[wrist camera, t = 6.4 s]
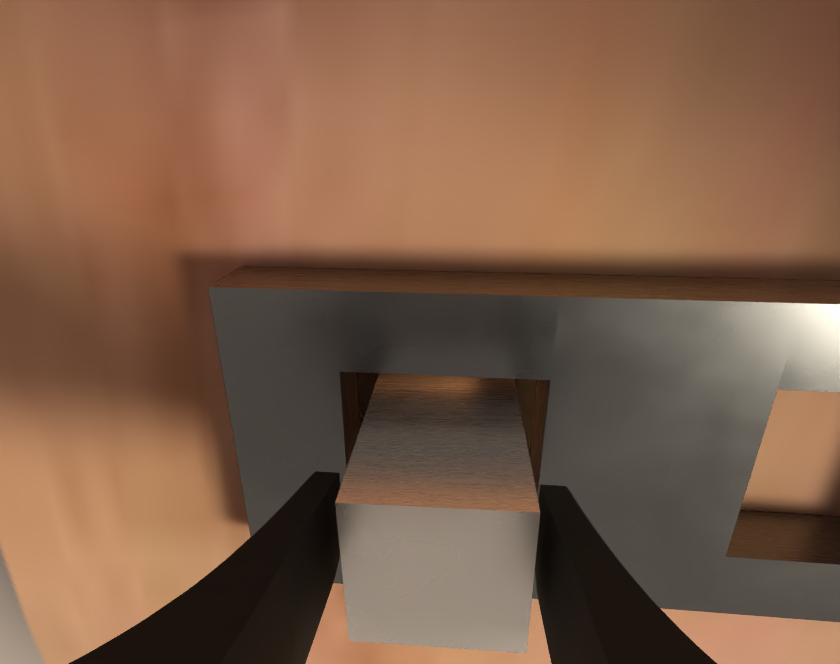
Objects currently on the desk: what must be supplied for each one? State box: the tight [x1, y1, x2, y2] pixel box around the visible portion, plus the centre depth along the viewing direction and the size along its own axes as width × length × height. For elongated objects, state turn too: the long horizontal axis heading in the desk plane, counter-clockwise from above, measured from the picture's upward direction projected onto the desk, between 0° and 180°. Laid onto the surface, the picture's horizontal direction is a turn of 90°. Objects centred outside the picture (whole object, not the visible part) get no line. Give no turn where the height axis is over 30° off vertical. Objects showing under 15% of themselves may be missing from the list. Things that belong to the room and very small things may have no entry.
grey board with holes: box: [208, 266, 840, 622], centre depth 14 cm, size 23×10×2 cm, turn 90°
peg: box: [335, 373, 540, 653], centre depth 13 cm, size 4×4×6 cm
